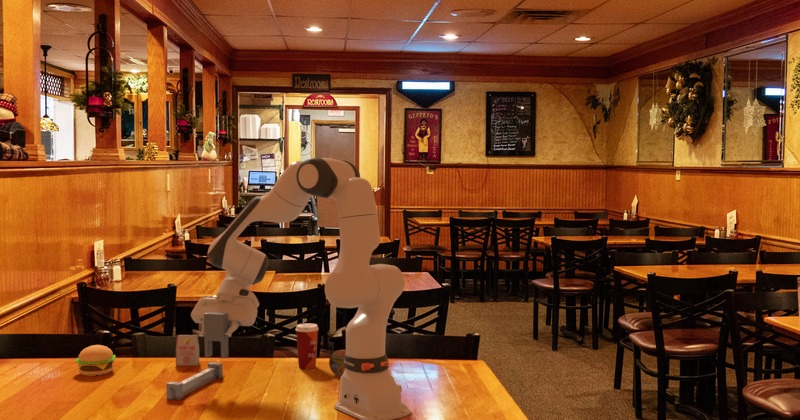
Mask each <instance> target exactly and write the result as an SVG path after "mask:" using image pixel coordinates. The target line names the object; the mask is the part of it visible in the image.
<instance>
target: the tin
mask: <svg viewBox="0 0 800 420" xmlns="http://www.w3.org/2000/svg"><path fill="white" fill-rule="evenodd" d="M345 353H346V349H338V350H334V351H333V352H332V353H331V354H330V356H329V359H328V363H329V364H328V365H329V368H330V371H331V372H332V373H333V374H334V375H335V376H337V377H339V378H341V376H342V375H343V373H344V371H345V367H344V355H345Z"/></svg>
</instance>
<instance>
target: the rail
mask: <svg viewBox="0 0 800 420" xmlns="http://www.w3.org/2000/svg"><path fill="white" fill-rule="evenodd" d="M222 378H223V362H216V361H215V362H214V361H211V362H208V363H207V368H206V369H203V370H202V371H200V372H198V373H196V374H193V375H192V376H190V377H188V378H185V379H183V380H182V381H169V382H167V383H166V400H172V401H173V400H174V401H175V400H176V401H181V400H182V399H184V397H185V396H186V395H188V394H190V393H192V392H193V391H195V390H198V389H199V388H201V387H204V386H205V385H207V384H209V383H211V382H213V381H215V380H219V379H222Z"/></svg>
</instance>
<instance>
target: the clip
mask: <svg viewBox="0 0 800 420" xmlns="http://www.w3.org/2000/svg"><path fill="white" fill-rule="evenodd" d="M226 329H229V325H228V313H216V312H207V313H204V335H203V336H204V337H203V338H204V357H205V358H209V357H212V356H213V342H220V359H225V358H226V359H227V358H228V357H229V337H225V335H224V332H225V330H226Z"/></svg>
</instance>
